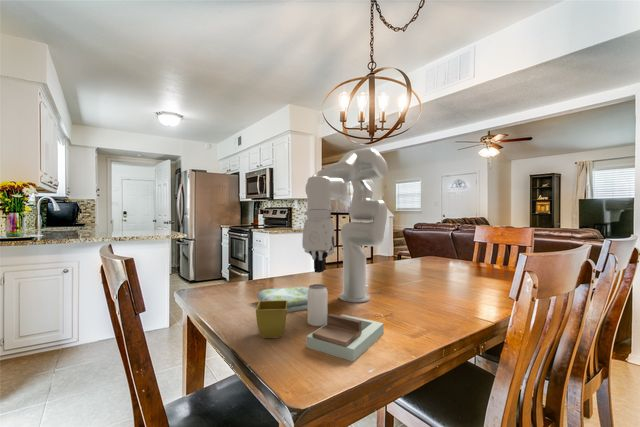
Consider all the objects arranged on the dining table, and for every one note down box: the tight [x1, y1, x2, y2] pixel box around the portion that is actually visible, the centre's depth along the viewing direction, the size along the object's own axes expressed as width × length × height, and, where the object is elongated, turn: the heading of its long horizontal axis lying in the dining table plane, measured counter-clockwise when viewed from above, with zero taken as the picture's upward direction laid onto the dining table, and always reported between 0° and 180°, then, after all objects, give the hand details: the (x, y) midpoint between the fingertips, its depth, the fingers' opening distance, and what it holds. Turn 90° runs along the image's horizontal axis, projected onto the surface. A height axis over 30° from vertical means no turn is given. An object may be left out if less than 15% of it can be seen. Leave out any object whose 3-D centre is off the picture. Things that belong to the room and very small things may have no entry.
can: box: [307, 283, 328, 327], centre depth 98 cm, size 6×6×12 cm
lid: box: [311, 313, 363, 346], centre depth 80 cm, size 9×10×4 cm
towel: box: [257, 286, 309, 314], centre depth 118 cm, size 18×21×5 cm
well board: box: [306, 314, 385, 362], centre depth 85 cm, size 20×14×3 cm
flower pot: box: [255, 300, 288, 339], centre depth 88 cm, size 9×9×9 cm
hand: (319, 271), depth 97 cm, fingers closed
